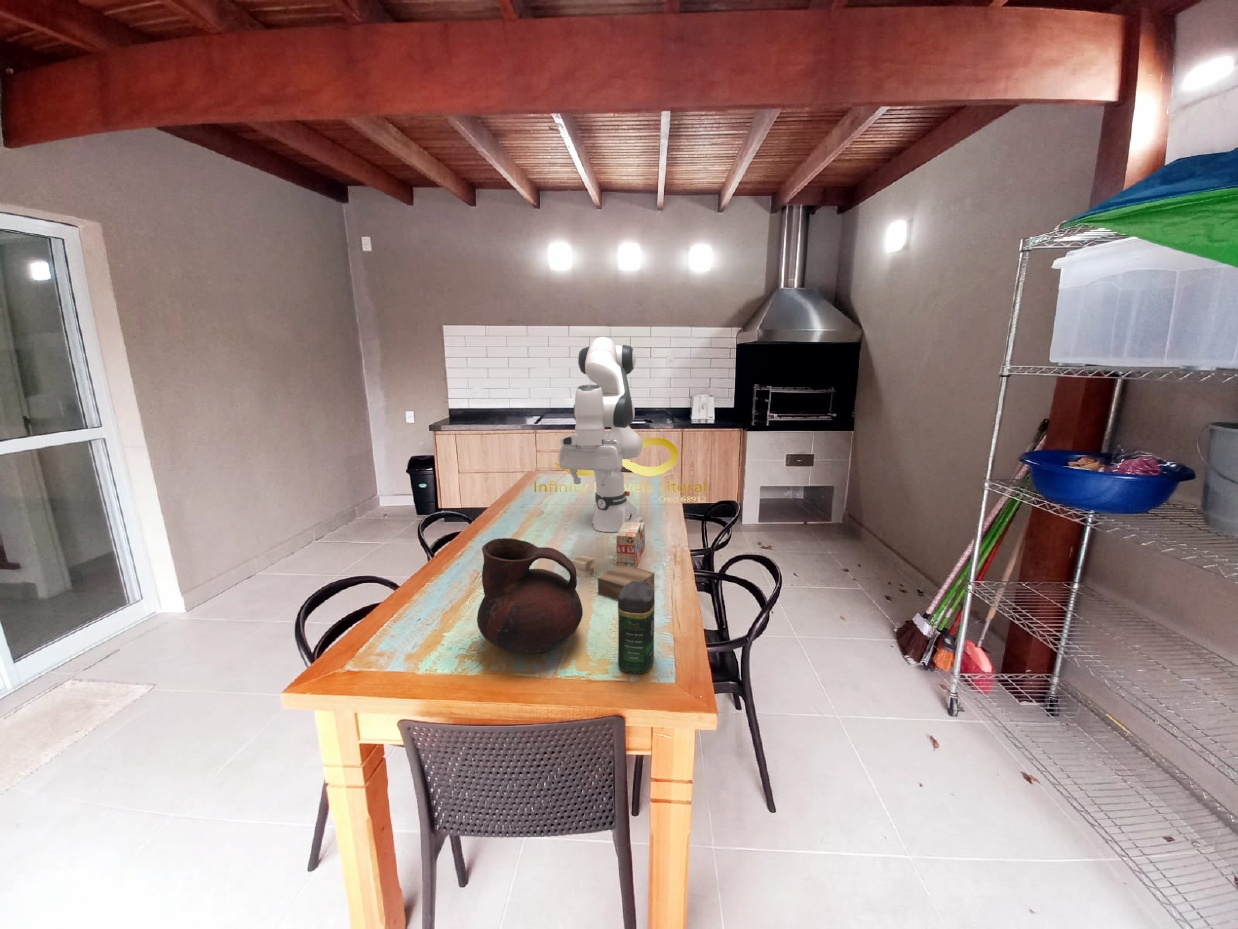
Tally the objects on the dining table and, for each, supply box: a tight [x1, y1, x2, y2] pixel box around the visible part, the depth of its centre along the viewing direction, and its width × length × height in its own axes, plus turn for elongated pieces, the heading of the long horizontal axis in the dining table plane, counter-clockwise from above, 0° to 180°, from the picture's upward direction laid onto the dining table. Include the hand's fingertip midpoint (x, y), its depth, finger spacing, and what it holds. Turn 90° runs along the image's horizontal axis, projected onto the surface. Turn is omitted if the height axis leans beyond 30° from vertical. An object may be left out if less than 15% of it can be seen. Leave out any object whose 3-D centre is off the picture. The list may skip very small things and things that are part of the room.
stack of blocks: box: [615, 521, 646, 568], centre depth 167 cm, size 21×6×12 cm, turn 169°
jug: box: [476, 537, 584, 655], centre depth 118 cm, size 25×25×25 cm
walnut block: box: [597, 564, 655, 601], centre depth 144 cm, size 12×12×5 cm
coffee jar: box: [617, 581, 656, 675], centre depth 110 cm, size 10×8×19 cm
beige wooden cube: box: [571, 554, 595, 579], centre depth 156 cm, size 5×5×5 cm
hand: (590, 484), depth 149 cm, fingers open, 8 cm apart
